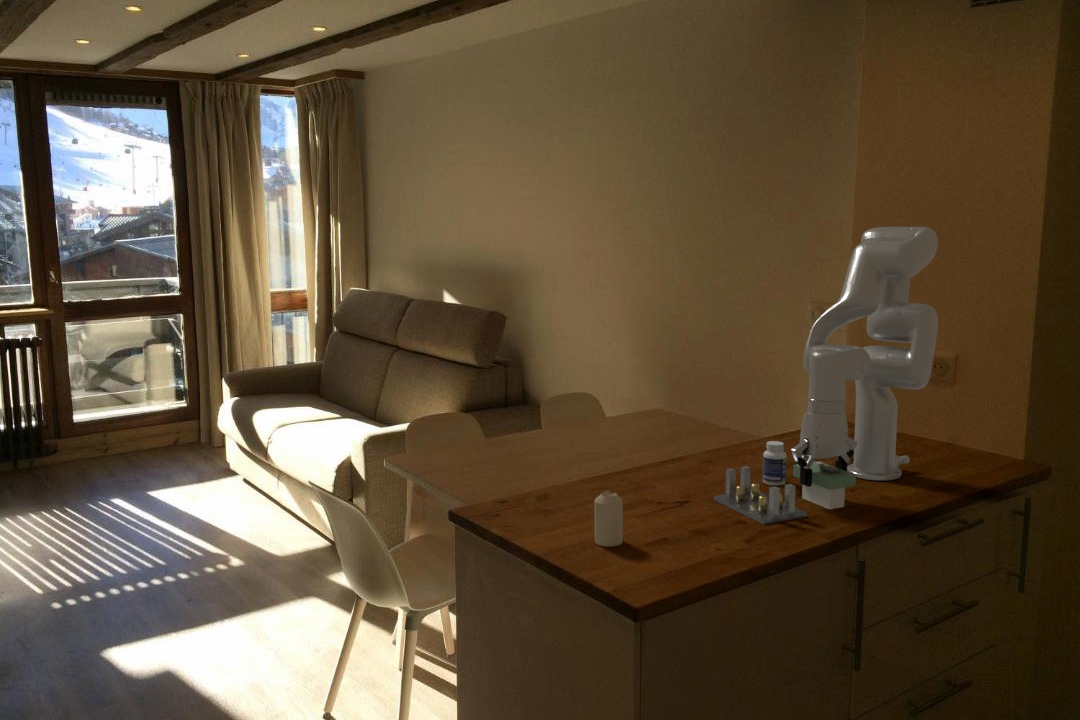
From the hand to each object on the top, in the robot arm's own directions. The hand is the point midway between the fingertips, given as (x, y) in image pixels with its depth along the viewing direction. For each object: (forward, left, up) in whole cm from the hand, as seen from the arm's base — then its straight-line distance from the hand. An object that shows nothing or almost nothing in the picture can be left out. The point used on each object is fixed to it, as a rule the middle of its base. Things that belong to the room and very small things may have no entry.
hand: (823, 482), depth 199 cm
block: (0, 0, -5) cm, 5 cm away
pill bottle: (0, -17, -5) cm, 18 cm away
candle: (+54, +1, -5) cm, 54 cm away
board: (0, 0, 0) cm, 0 cm away
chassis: (+15, -3, -5) cm, 16 cm away
